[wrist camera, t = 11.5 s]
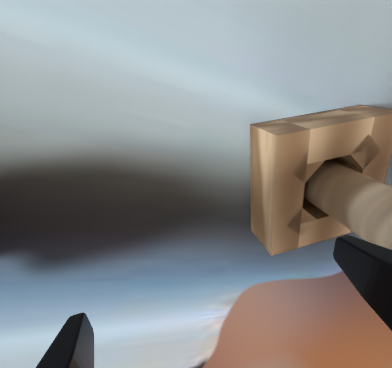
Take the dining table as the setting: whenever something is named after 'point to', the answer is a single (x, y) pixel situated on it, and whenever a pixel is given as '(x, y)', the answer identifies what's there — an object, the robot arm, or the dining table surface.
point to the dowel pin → (353, 201)
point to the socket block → (310, 169)
